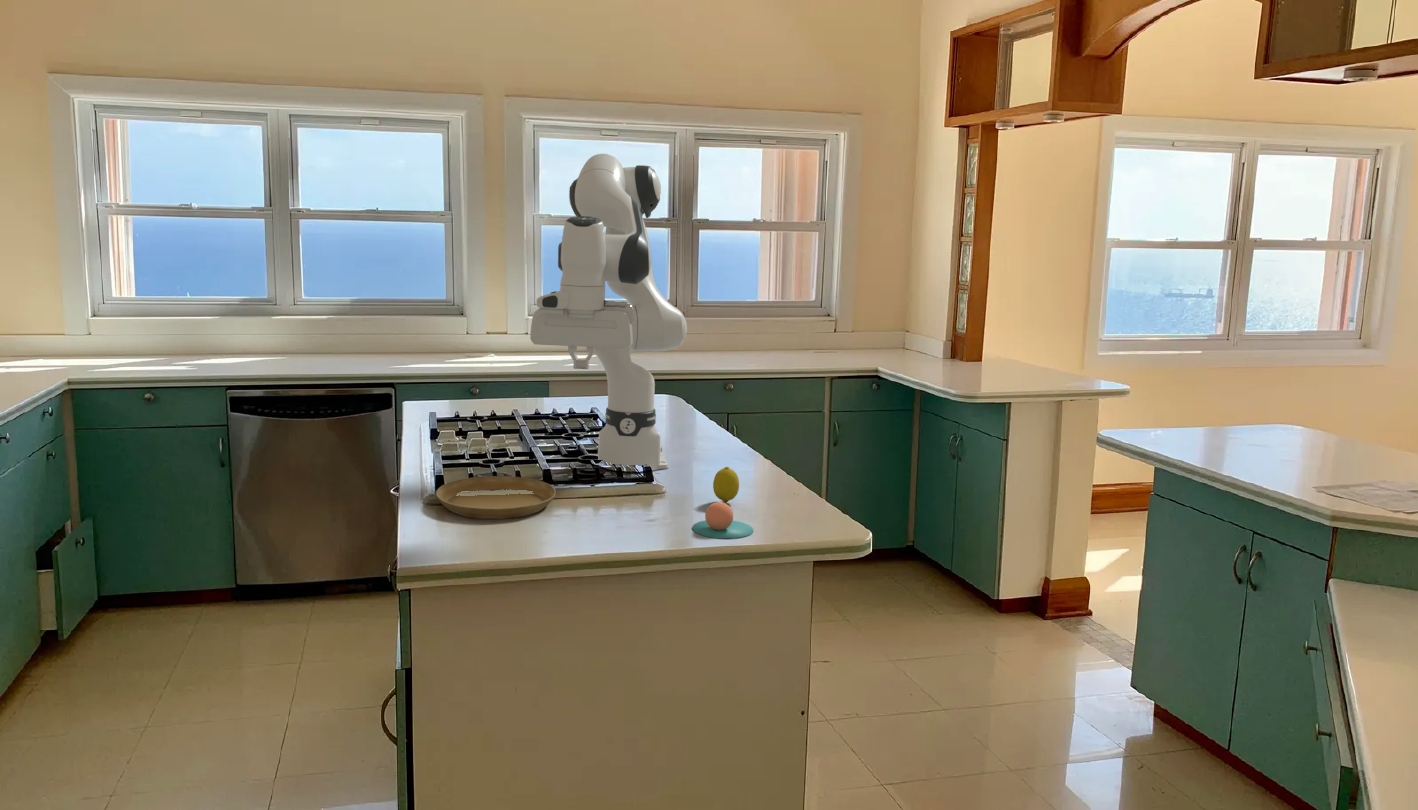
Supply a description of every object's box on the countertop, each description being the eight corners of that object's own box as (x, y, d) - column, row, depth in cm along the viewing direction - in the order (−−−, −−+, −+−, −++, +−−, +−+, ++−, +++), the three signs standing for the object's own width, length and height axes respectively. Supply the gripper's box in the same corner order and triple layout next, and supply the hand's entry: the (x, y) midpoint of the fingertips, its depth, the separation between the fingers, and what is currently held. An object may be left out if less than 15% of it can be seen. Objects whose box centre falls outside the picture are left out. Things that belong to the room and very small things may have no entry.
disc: (694, 518, 207) (694, 518, 207) (753, 522, 207) (753, 521, 207) (690, 537, 195) (690, 536, 195) (753, 540, 195) (753, 539, 195)
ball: (711, 494, 202) (738, 503, 202) (702, 519, 204) (728, 528, 204) (709, 503, 197) (736, 513, 197) (700, 528, 198) (726, 538, 198)
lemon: (735, 507, 217) (737, 470, 215) (710, 505, 218) (711, 468, 216) (740, 500, 222) (742, 465, 220) (715, 498, 223) (716, 462, 222)
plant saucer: (556, 522, 202) (556, 506, 201) (430, 523, 198) (430, 507, 197) (554, 490, 225) (554, 475, 225) (441, 490, 221) (441, 475, 221)
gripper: (636, 300, 206) (634, 368, 208) (535, 296, 207) (534, 364, 209) (632, 303, 200) (631, 373, 202) (528, 298, 200) (528, 368, 203)
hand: (581, 368), depth 206 cm, fingers closed
